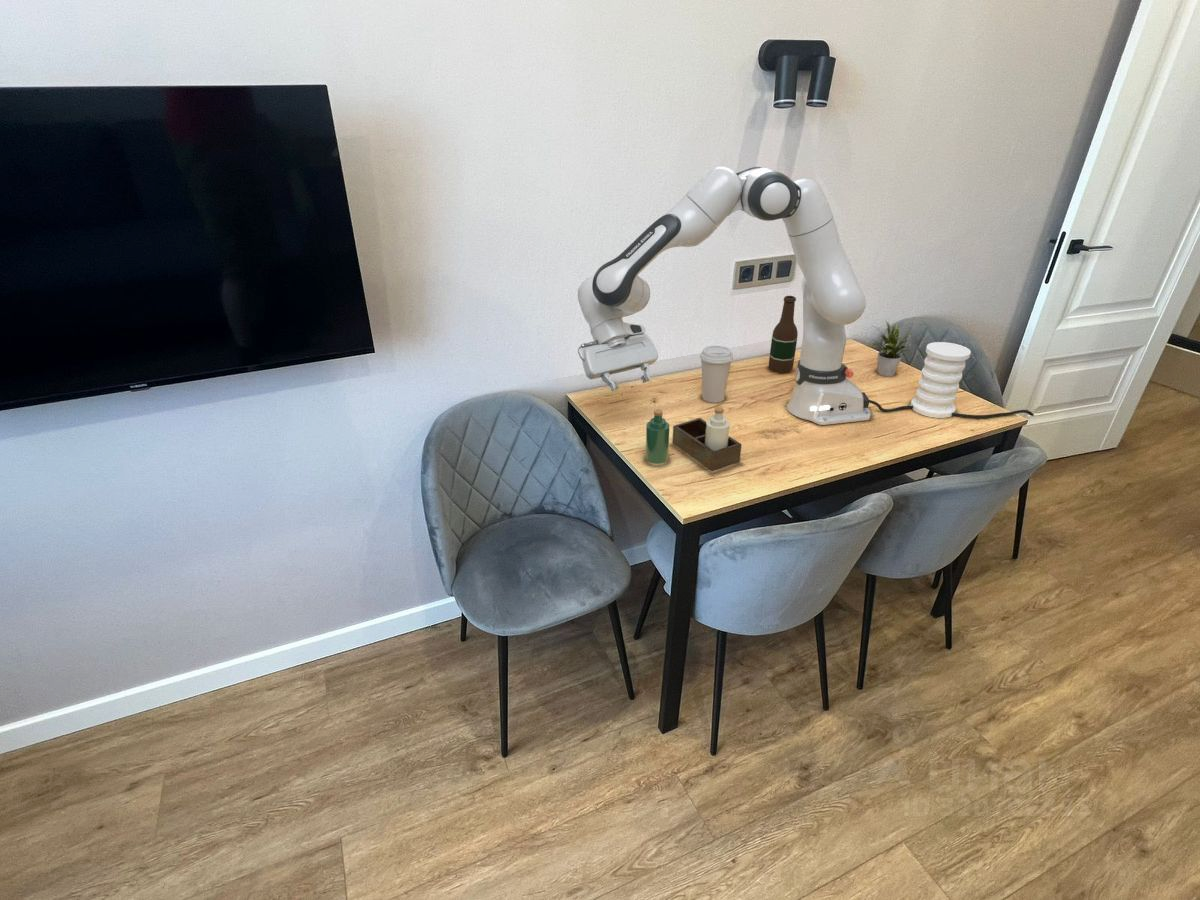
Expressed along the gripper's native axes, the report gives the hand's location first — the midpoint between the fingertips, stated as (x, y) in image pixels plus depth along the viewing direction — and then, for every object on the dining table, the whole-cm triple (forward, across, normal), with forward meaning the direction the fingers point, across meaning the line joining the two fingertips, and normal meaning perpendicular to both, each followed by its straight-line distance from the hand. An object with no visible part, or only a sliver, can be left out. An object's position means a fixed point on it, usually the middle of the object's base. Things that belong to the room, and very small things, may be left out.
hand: (631, 385), depth 161 cm
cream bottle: (+25, +12, -4) cm, 28 cm away
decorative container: (+32, +83, -9) cm, 89 cm away
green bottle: (+20, 0, +2) cm, 20 cm away
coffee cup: (+5, +35, +18) cm, 39 cm away
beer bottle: (+1, +67, +22) cm, 70 cm away
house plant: (+14, +93, +9) cm, 95 cm away
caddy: (+23, +12, 0) cm, 25 cm away
